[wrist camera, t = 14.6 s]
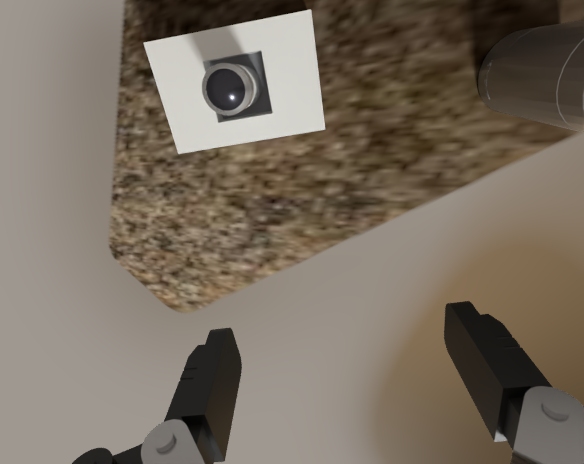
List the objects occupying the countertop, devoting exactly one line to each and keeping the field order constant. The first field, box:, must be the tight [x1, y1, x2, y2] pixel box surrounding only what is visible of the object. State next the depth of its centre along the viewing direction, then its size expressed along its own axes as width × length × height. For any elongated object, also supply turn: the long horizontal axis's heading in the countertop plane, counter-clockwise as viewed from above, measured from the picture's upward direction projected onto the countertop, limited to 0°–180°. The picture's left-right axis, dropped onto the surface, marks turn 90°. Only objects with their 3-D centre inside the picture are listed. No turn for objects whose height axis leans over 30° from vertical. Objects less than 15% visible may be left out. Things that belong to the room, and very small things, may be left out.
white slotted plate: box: [144, 9, 325, 154], centre depth 40 cm, size 18×12×5 cm, turn 99°
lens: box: [202, 63, 262, 116], centre depth 36 cm, size 4×4×10 cm
